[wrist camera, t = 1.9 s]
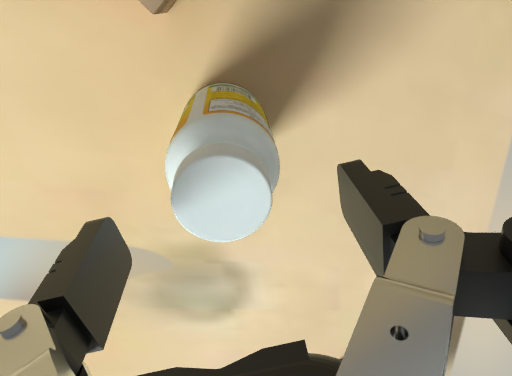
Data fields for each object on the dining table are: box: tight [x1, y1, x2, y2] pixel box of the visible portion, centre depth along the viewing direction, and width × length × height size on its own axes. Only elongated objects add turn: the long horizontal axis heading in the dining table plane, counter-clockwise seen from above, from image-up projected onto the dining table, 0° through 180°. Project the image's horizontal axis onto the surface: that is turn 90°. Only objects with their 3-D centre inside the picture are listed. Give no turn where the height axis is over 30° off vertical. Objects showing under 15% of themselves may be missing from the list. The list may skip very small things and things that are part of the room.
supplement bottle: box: [165, 83, 280, 242], centre depth 17 cm, size 5×5×10 cm
